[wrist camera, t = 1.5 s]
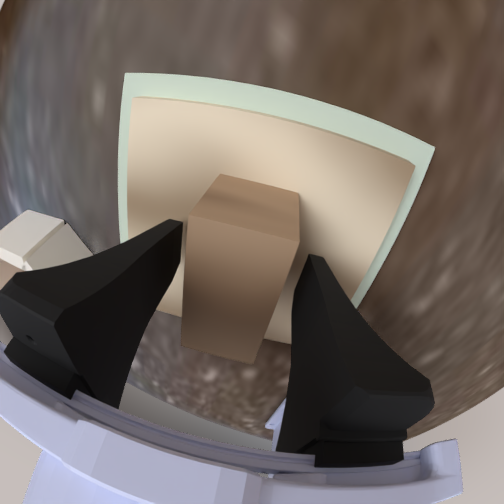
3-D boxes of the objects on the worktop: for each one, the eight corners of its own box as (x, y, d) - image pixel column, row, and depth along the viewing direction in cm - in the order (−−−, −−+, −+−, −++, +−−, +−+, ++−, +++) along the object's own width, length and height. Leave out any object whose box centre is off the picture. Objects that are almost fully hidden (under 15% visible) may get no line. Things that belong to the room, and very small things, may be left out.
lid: (319, 339, 16) (320, 403, 12) (139, 293, 16) (107, 347, 12) (408, 160, 9) (460, 204, 6) (141, 96, 9) (72, 111, 6)
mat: (328, 346, 17) (328, 351, 16) (129, 295, 17) (127, 299, 16) (431, 145, 9) (435, 147, 9) (130, 72, 9) (125, 73, 9)
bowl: (121, 338, 20) (100, 377, 16) (35, 299, 20) (12, 328, 16) (102, 230, 14) (60, 274, 11) (5, 202, 14) (-31, 230, 11)
